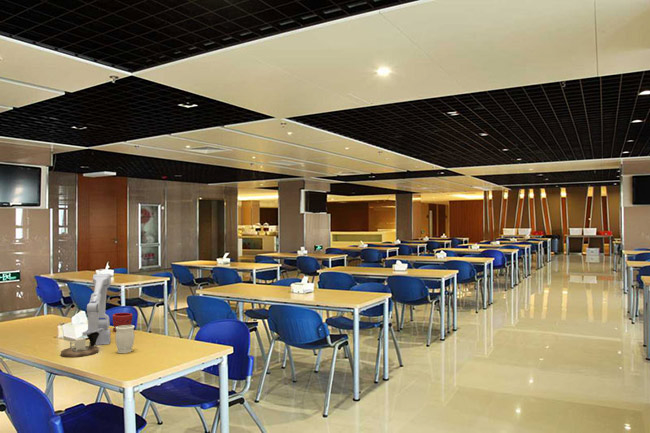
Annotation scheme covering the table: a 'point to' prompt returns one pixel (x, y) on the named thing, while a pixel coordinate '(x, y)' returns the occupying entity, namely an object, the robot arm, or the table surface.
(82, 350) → the turntable
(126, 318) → the plant pot
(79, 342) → the beige block
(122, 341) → the jar
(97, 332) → the robot arm
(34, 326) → the table surface
